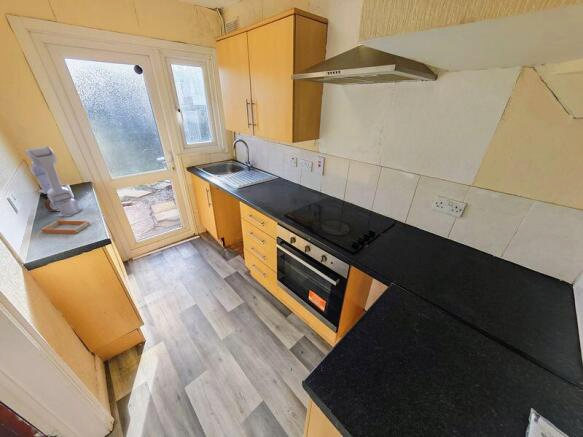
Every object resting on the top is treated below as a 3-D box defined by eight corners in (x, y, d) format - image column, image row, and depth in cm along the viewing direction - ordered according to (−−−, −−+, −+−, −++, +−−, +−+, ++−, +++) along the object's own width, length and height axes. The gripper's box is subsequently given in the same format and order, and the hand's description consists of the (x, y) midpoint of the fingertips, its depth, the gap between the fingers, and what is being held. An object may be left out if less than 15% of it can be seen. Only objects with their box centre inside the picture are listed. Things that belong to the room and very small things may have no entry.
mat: (59, 205, 159) (59, 205, 159) (70, 205, 159) (70, 205, 159) (48, 210, 152) (48, 210, 152) (60, 211, 152) (60, 210, 152)
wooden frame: (59, 223, 138) (57, 220, 137) (90, 224, 138) (88, 221, 137) (43, 232, 129) (40, 229, 128) (75, 233, 129) (73, 230, 128)
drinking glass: (76, 195, 174) (70, 183, 169) (71, 199, 169) (65, 186, 164) (66, 196, 173) (60, 184, 168) (61, 200, 167) (54, 187, 162)
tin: (67, 202, 162) (62, 192, 158) (72, 202, 162) (66, 192, 158) (48, 212, 149) (41, 201, 145) (53, 212, 149) (46, 201, 145)
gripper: (29, 186, 144) (40, 205, 150) (52, 186, 144) (62, 205, 150) (40, 182, 150) (50, 200, 156) (61, 182, 150) (71, 201, 156)
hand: (57, 202), depth 154 cm, fingers open, 7 cm apart
